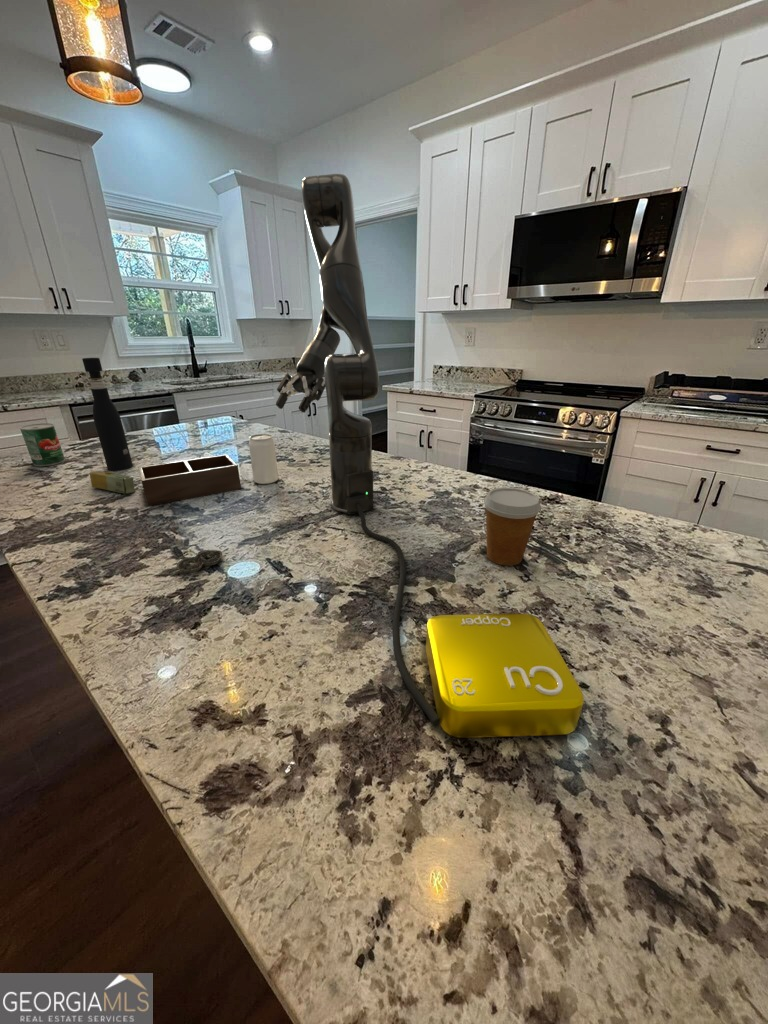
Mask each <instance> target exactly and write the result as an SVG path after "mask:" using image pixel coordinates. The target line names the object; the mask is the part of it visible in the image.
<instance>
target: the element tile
mask: <svg viewBox="0 0 768 1024" xmlns="http://www.w3.org/2000/svg"><path fill="white" fill-rule="evenodd" d="M425 637H426V639H425V653H426V658H427V665H428V670H429V675H430V682H431V687H432V694H433V698H434V704H435V711H436V714H437V715H438V717H439V724H438V725H440V727H441V729H442V730H443V732H445V733H446V734H448V735H449V736H451V737H455V738H459V739H460V738H461V739H463V738H466V739H467V738H468V739H469V738H497V737H498V738H500V737H502V738H504V737H536V736H542V737H543V736H565V735H570V734H571V733H573V732H575V730H576V728H577V727H578V723H579V720H580V717H581V713H582V710H583V706H584V703H585V702H584V693H583V691H582V689H581V688H580V686H579V684H578V682H577V680H576V679H575V677H574V675H573V673H572V672H571V670H570V668H569V667H568V665H567V663H566V661H565V660H564V658H563V656H562V654H561V653H560V651H559V649H558V648H557V646H556V644H555V642H554V640H553V639H552V636H551V635H550V634H549V631H548V630H547V628H546V627H545V624H544V623H543V622H542V621H541V620H540V619H539V618H537V616H535V615H532V614H529V613H479V614H477V613H476V614H473V613H471V614H470V613H469V614H438V615H435V616H432V617H430V618H429V619H428V621H427V623H426V635H425Z"/></svg>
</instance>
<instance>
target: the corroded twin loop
mask: <svg viewBox="0 0 768 1024" xmlns="http://www.w3.org/2000/svg"><path fill="white" fill-rule="evenodd" d="M222 556H223V551H222V550H218V549H207V550H202V551H199V552H198V553H197V554H196V555H195V556H193V557H192V556H189V557H185V558H182V559H180V561H178V562H177V563H176V569H177V570H178V571H179V572H180V573H195V572H198V571H200V570H201V569H202V567H210V566H215V565H217V564H218V563H219V562H220V560H221V558H222ZM206 558H207V559H206ZM192 564H193V565H192Z"/></svg>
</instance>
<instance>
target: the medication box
mask: <svg viewBox="0 0 768 1024" xmlns="http://www.w3.org/2000/svg"><path fill="white" fill-rule="evenodd" d="M89 478H90V484H91V487H92V488H96V489H101V490H105V491H110V492H115V493H120V494H123V495H129V494H134V493H135V492H136V490H135V482H134V481H135V480H134V476H131V475H125V474H120V473H116V472H115V473H113V472H109V471H102V470H94V471H90V472H89Z"/></svg>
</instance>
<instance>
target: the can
mask: <svg viewBox="0 0 768 1024" xmlns="http://www.w3.org/2000/svg"><path fill="white" fill-rule="evenodd" d="M248 449H249V455H250V457H249V458H250V463H251V471H252V478H253V481H254V483H256V484H257V485H269V484H270V485H271V484H274V483H275V482H277V481H278V479H279V471H278V470H279V469H278V461H277V452H276V451H277V450H276V444H275V440H274V438H273V435H272V434H269V433H257V434H253V435H250V436H249V442H248Z"/></svg>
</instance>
